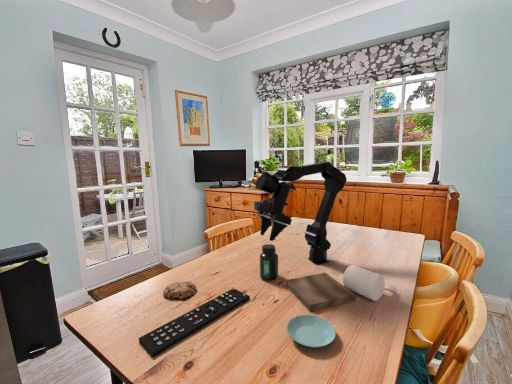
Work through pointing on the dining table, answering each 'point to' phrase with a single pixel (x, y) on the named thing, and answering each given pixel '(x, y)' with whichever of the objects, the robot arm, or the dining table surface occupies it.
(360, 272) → the mug
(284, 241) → the dining table surface
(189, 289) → the cookie
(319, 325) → the saucer
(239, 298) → the remote control
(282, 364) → the dining table surface
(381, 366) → the dining table surface
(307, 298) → the walnut board
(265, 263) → the supplement bottle
